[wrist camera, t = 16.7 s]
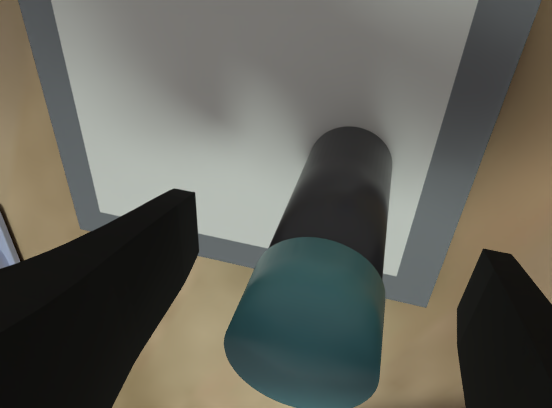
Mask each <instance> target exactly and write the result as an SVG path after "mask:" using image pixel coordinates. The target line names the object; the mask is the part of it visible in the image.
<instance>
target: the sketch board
mask: <svg viewBox="0 0 552 408" xmlns="http://www.w3.org/2000/svg"><path fill="white" fill-rule="evenodd" d="M18 2H19V5H20V9H21V13H22V16H23V20H24V24H25V27H26V31H27V35H28V38H29V42H30V46H31V49H32V53H33V57H34V60H35V64H36V68H37V71H38V75H39V79H40V82H41V86H42V90H43V93H44V97H45V101H46V104H47V108H48V112H49V115H50V119H51V123H52V126H53V130H54V134H55V137H56V141H57V145H58V148H59V152H60V156H61V159H62V163H63V167H64V170H65V174H66V178H67V182H68V185H69V189H70V193H71V196H72V200H73V204H74V207H75V211H76V215H77V218H78V222H79V226H80V229H83V230H87V231H93V230H95V229H97V228H99V227H101V226H103V225H105V224H107V223H109V222H111V221H113V220H115V219H117V218H119V217H121V216H122V215H124V214H126V213H128V212H130V211H132V210H134V209H135V208H137V207H139V206H141V205H143V204H145V203H146V202H148V201H150V200H152V199H154V198H156V197H158V196H159V195H161V194H163V193H165V192H167V191H169V190H171V189H174V188H175V189H180V190H185V191H191V192H195V196H196V210H197V225H198V239H199V253H198V255H197V256H201V257H206V258H210V259H214V260H219V261H223V262H228V263H232V264H236V265H241V266H245V267H250V268H254V269H255V267H256V264H257V262H258V261H259V259H260V257H261V256H262V255H263V253H264V252H265V251H266V250H268V248H269V246H270V243H271V241H272V239H273V237H274V234H275V232H276V230H277V227H278V225H279V223H280V220H281V218H282V216H283V214H284V211H285V209H286V207H287V204H288V202H289V200H290V198H291V195H292V193H293V191H294V188H295V186H296V184H297V181H298V179H299V177H300V175H301V172H302V170H303V168H304V165H305V163H306V161H307V159H308V156H309V154H310V152H311V149H312V147H313V145H314V144H315V142H316V141H317V140H318V139H319V138H320V137H321V136H322V135H323V134H325V133H326V132H328V131H330V130H332V129H335V128H339V127H345V126H352V127H359V128H363V129H366V130H368V131H370V132H372V133H374V134H375V135H377V136H378V137H379V138H380V139H382V141H383V142H384V143H385V144H386V146H387V147H388V149H389V151H390V154H391V157H392V177H391V188H390V199H389V211H388V222H387V233H386V244H385V256H384V267H383V278H382V281H383V284H384V287H385V298H386V299H390V300H395V301H399V302H403V303H408V304H412V305H417V306H421V307H425V308H426V307H427V304H428V302H429V299H430V296H431V294H432V291H433V288H434V286H435V283H436V280H437V278H438V275H439V272H440V270H441V267H442V264H443V262H444V259H445V256H446V254H447V251H448V248H449V246H450V243H451V240H452V238H453V235H454V232H455V230H456V227H457V224H458V222H459V219H460V216H461V214H462V211H463V208H464V206H465V203H466V200H467V198H468V195H469V192H470V190H471V187H472V184H473V182H474V179H475V176H476V174H477V171H478V168H479V166H480V163H481V160H482V157H483V155H484V152H485V149H486V147H487V144H488V141H489V139H490V136H491V133H492V131H493V128H494V125H495V123H496V120H497V117H498V115H499V112H500V109H501V107H502V104H503V101H504V99H505V96H506V93H507V91H508V88H509V85H510V83H511V80H512V77H513V75H514V72H515V69H516V67H517V64H518V61H519V59H520V56H521V53H522V51H523V48H524V45H525V43H526V40H527V37H528V35H529V32H530V29H531V27H532V24H533V21H534V19H535V16H536V13H537V11H538V8H539V5H540V3H541V0H18Z"/></svg>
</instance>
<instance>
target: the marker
mask: <svg viewBox="0 0 552 408" xmlns="http://www.w3.org/2000/svg"><path fill="white" fill-rule="evenodd" d="M391 177H392V157H391V154H390V151H389V149H388V147H387V146H386V144H385V143H384V142H383V141H382V139H380V138H379V137H378V136H377V135H375V134H374V133H372V132H370V131H368V130H366V129H363V128H359V127H352V126H345V127H339V128H335V129H332V130H330V131H328V132H326V133H325V134H323V135H322V136H321V137H320V138H319V139H318V140H317V141H316V142H315V144H314V145H313V147H312V149H311V152H310V154H309V156H308V159H307V161H306V163H305V165H304V168H303V170H302V172H301V175H300V177H299V179H298V181H297V184H296V186H295V188H294V191H293V193H292V195H291V198H290V200H289V202H288V204H287V207H286V209H285V211H284V214H283V216H282V218H281V220H280V223H279V225H278V227H277V230H276V232H275V234H274V237H273V239H272V241H271V243H270V246H269V248H268V250H266V251H265V252H264V253H263V255H262V256H261V257H260V259H259V261H258V262H257V264H256V267H255V269H254V271H253V273H252V276H251V278H250V280H249V282H248V284H247V287H246V289H245V291H244V293H243V296H242V298H241V300H240V302H239V304H238V307H237V309H236V311H235V313H234V316H233V318H232V320H231V322H230V325H229V327H228V329H227V331H226V334H225V338H224V348H225V353H226V356H227V358H228V360H229V362H230V364H231V366H232V367H233V369H234V370H235V371H236V373H237V374H238V375H239V376H240V377H241V378H242V379H243V380H244V381H245V382H246V383H248V384H249V385H250V386H251V387H253V388H254V389H256V390H257V391H259V392H260V393H262V394H264V395H265V396H267V397H269V398H271V399H273V400H275V401H278V402H280V403H283V404H286V405H289V406H292V407H296V408H353V407H355V406H358V405H360V404H362V403H363V402H365V401H366V400H368V399H369V398H370V397H371V396H372V395H373V393H374V392H375V391H376V388H377V386H378V383H379V376H380V363H381V350H382V337H383V324H384V311H385V287H384V284H383V281H382V278H383V267H384V256H385V244H386V233H387V222H388V211H389V199H390V188H391Z"/></svg>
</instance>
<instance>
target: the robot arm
mask: <svg viewBox="0 0 552 408" xmlns="http://www.w3.org/2000/svg"><path fill="white" fill-rule="evenodd" d="M198 253H199V239H198V225H197V210H196V196H195V192H191V191H185V190H180V189H175V188H174V189H171V190H169V191H167V192H165V193H163V194H161V195H159V196H158V197H156V198H154V199H152V200H150V201H148V202H146V203H145V204H143V205H141V206H139V207H137V208H135V209H134V210H132V211H130V212H128V213H126V214H124V215H122V216H121V217H119V218H117V219H115V220H113V221H111V222H109V223H107V224H105V225H103V226H101V227H99V228H97V229H95V230H93V231H91V232H89V233H87V234H85V235H83V236H81V237H79V238H77V239H75V240H72V241H70V242H68V243H66V244H64V245H61V246H59V247H57V248H54V249H52V250H50V251H47V252H45V253H42V254H40V255H37V256H35V257H32V258H29V259H27V260H24V261H22V262H20V259H19V257H18V254H17V252H16V249H15V247H14V244H13V242H12V239H11V237H10V234H9V232H8V229H7V227H6V224H5V222H4V219H3V217H2V214H1V212H0V408H112V406H113V404H114V402H115V400H116V398H117V396H118V394H119V392H120V390H121V388H122V386H123V384H124V382H125V380H126V378H127V376H128V374H129V372H130V370H131V368H132V366H133V365H134V363H135V361H136V360H137V358H138V356H139V354H140V353H141V351H142V349H143V348H144V346H145V345H146V343H147V342H148V340H149V338H150V337H151V335H152V334H153V332H154V331H155V329H156V328H157V326H158V324H159V323H160V321H161V320H162V318H163V317H164V315H165V314H166V312H167V310H168V309H169V307H170V306H171V304H172V303H173V301H174V299H175V298H176V296H177V295H178V293H179V291H180V290H181V288H182V287H183V285H184V283H185V281H186V279H187V277H188V275H189V273H190V271H191V269H192V267H193V264H194V262H195V260H196V258H197V255H198ZM457 348H458V356H459V363H460V370H461V378H462V385H463V391H464V398H465V405H466V408H552V304H551V303H550V302H549V301H548V299H547V298H546V297H545V296H544V294H543V293H542V292H541V291H540V289H539V288H538V287H537V286H536V284H535V283H534V282H533V280H532V279H531V278H530V277H529V275H528V274H527V273H526V272H525V270H524V269H523V268H522V267H521V265H520V264H519V263H518V262H517V260H516V259H515V258H514V257H513V256H512V255H511V254H508V253H503V252H498V251H493V250H487V249H483V250H482V253H481V255H480V257H479V259H478V262H477V264H476V266H475V269H474V271H473V273H472V276H471V278H470V280H469V282H468V285H467V287H466V289H465V292H464V294H463V296H462V299H461V301H460V303H459V305H458V308H457Z"/></svg>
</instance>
